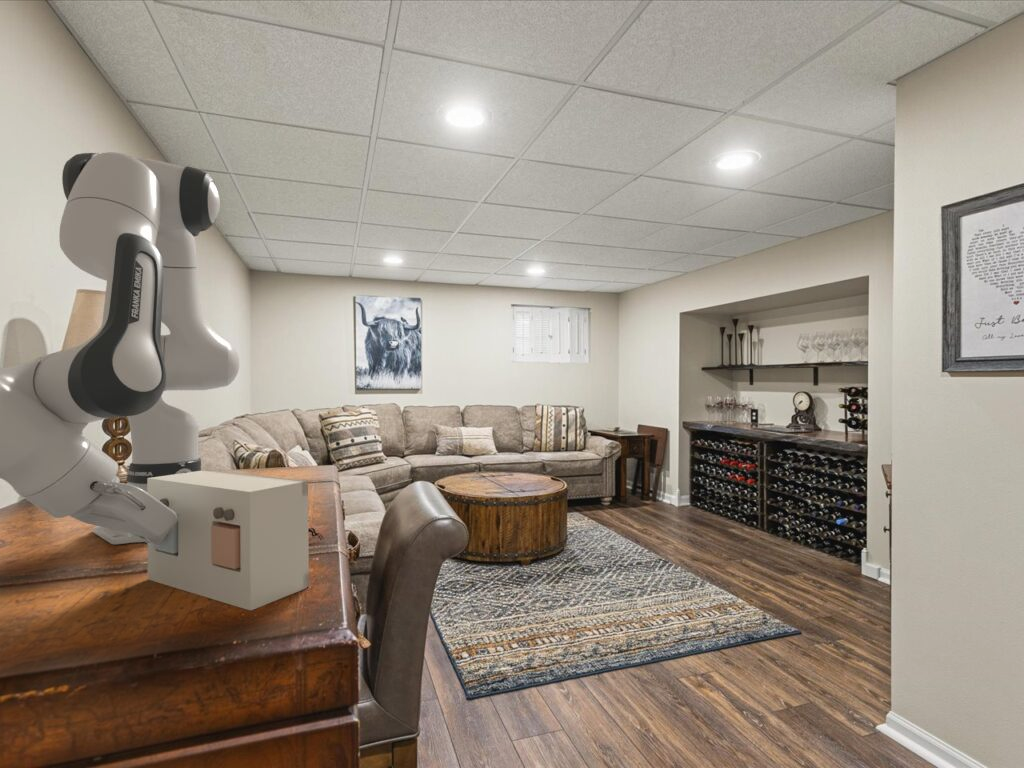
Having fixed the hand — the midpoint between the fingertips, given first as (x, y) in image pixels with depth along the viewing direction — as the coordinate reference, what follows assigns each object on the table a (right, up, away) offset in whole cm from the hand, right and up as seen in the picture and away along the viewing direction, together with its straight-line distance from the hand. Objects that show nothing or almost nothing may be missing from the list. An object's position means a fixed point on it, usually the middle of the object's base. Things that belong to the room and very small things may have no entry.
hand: (157, 539), depth 76 cm
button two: (+15, -2, -3) cm, 15 cm away
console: (+9, -7, +1) cm, 11 cm away
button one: (+2, -2, +4) cm, 5 cm away
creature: (+12, -7, +22) cm, 26 cm away
